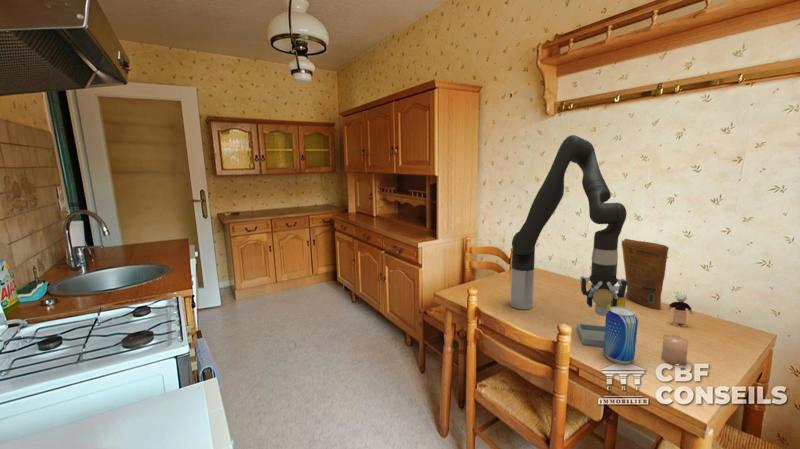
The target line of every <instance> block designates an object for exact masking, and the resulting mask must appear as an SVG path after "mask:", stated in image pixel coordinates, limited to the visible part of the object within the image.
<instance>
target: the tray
mask: <svg viewBox="0 0 800 449" xmlns="http://www.w3.org/2000/svg"><path fill="white" fill-rule="evenodd" d="M576 331H577V333H578V336H579V338H580V341H581V343H582V345H583V346H588V347H589V346H591V347H598V348H603V347H604V334H605V325H602V324H601V325H600V324H592V323H591V324H589V323H582V322H581V323H580V322H579V323H578V322H577V323H576Z"/></svg>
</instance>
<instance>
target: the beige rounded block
mask: <svg viewBox="0 0 800 449" xmlns="http://www.w3.org/2000/svg"><path fill="white" fill-rule="evenodd" d="M688 349H689V340H688V339H686V338H684V337H682V336H679V335H675V334H664V335H663V341H662V350H661V359H662V360H663V361H664V362H666V363H668V364H671V363H672V365H674V364H679V365H678V366H685V365H686V363H687V359H688V358H687V357H688ZM684 364H685V365H684Z"/></svg>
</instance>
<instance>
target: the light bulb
mask: <svg viewBox="0 0 800 449" xmlns="http://www.w3.org/2000/svg"><path fill="white" fill-rule="evenodd" d="M612 299H613V295H612V293H611V291H610V290H608V289H598V290H597V291H596V292H595V293H594V294H593V296H592V302H594V304H595V306H594V307H595V308H594V313H595V314H596V315H597V316H599V317H600V316H601V317H602V316H603V317H604V316H605V317H606V314H607V308H608V307H607V305H608V304H610V302H611V301H612Z"/></svg>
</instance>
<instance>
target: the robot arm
mask: <svg viewBox="0 0 800 449" xmlns="http://www.w3.org/2000/svg"><path fill="white" fill-rule="evenodd" d="M596 155H597V154H596V150H595V148H594V145H593V144H592V143H591V142H590V141H589V140H587V139H584V138H582V137H580V136H577V135H575V134H571V135H569V136H567V137H566V138H565V139H564V140H563V141H562V143H561V144H560V146H559V148H558V150H557V153H556V155H555V158H554V160H553V162H552V164H551V167H550V169H549V171H548V173H547V175H546V177H545V178H544V180H543V182H542V185H541V186H540V188H539V189H538V192H537V194H535V197H534V199H533V202H532V203H531V206H530V209H529V210H528V215H527V217H526V219H525V221H524V223H523V225H522V226H521V227H520V228H519V231H517V232H516V233H515V234H514V235H513V237H512V240H511V247H512V251H511V253H512V254H511V256H512V257H511V273H510V274H511V278H510V280H511V281H510V308H514V309H518V310H525V311H526V310H530V309H533V305H534V285H535V284H534V280H535V279H534V277H535V259H536V258H535V257H536V256H535V255H536V244H537V242H538V239H539V237H540V235H541V232H542V231H543V229H544V227H545V226H546V225H547V223H548V221H550V219H551V217H552V216H553V214H554V213H555V211H556V210H557V208H558V206H559V205H560V202H561V201H562V199H563V196H564V192H565V174H566V172H567V169H568V167H569V165H570V163H574V164H577V165H578V167H579V168H580V170H581V171H582V174H583V175H582V179H581V183H582V188H583V190H584V193H585V196H586V198H587V201H588V209H589V211H588V212H589V215H588V216H589V219H590V220H591V222H593V223H594V224H595V225H606V227H605V228H604V229H599V230H597V231H595V232H594V235H593V236H594V237H593V250H592V254H591V269H590V270H591V271H590V276H588V277H584V276H580V292H581V293H582V295H583V296H586V304H587V306H588V307H589V308H592V307H593V299H592V296H593V294H594V293H595V292H596V291H597V290H598V289H608V290H610V291H611V293H612V295H613V299H612V301H611V307H617V299H618V298H620V297H621V298H623V297H624V295H625V296H626V291H627V282H626V279H624V278H622V279H621V278H619V279H618V278H617V272H618V258H619V253H618V247H619V237H620V234H621V231H622V229H623V227H624V224H625V222H626V218H627V208H626V207H625V206H624V204H622V203H620V202H608V201H609V200H610V199H611V194H612V193H611V191H610V189H609V187H608V185H607V183H606V180H605V179H604V176H603V174H602V172H601V170H600V166H599V162H598V160H597V156H596ZM589 281H590V283H591V285H590V286H589V289H588V290H587V285H588V284H589ZM616 283H618V284H619V291H618V293H616V292H615V290H614V288H613V286H614V285H615V284H616Z"/></svg>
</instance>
